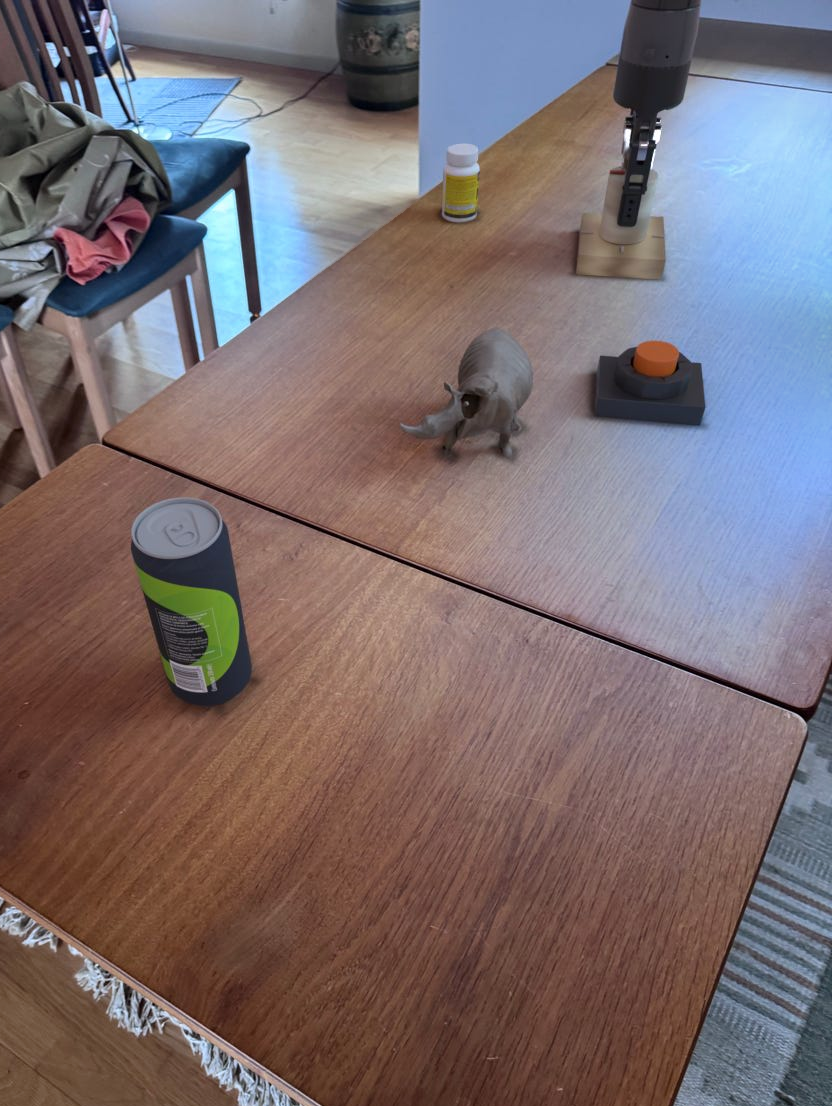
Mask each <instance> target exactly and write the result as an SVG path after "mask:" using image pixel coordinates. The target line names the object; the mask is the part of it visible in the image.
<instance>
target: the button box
mask: <svg viewBox="0 0 832 1106" xmlns="http://www.w3.org/2000/svg"><path fill="white" fill-rule="evenodd" d="M636 348H637V346H632V347H628V348H627V349H625V350H624V351H623V352H622V353H621V354H620V355H618V356H614V355H613V356H612V355H599V358H598V363H597V368H596V369H597V370H596V376H595V397H594V417H595V418H604V419H617V420H627V421H628V420H629V421H640V422H651V423H661V424H663V423H664V424H674V425H688V426H697V427H698V426H699V427H700V426H701V425H702V421H703V417H704V415H705V411H706V399H705V397H706V396H705V389H704V388H705V387H704V378H703V365H702V362H695V361H693V362H692V361H691V360H690V359H689V358H688V357H687V356H686V355H684V354H683V353H682V352H680V351H679V357H678V360H677V364H676V368H675V371H674V373H673V374H671V375H668V376H663V377H659V376H648V375H645V374H642V373H640V372H637V371H636V370H635V369H634V367H633V362H634V357H635V352H636Z"/></svg>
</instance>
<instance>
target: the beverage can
mask: <svg viewBox="0 0 832 1106" xmlns="http://www.w3.org/2000/svg"><path fill="white" fill-rule="evenodd" d="M130 536H131V542H130V552H131V554H132V559H133V562H134V566H135V570H136V574H137V577H138V580H139V584H140V587H141V592H142V595H143V598H144V602H145V605H146V608H147V612H148V615H149V619H150V623H151V627H152V630H153V633H154V638H155V641H156V644H157V648H158V650H159V651H158V652H159V654H160V657H161V661H162V664H163V668H164V672H165V676H166V679H167V682H168V686H169V688H170V690H171V691H172V693H173V694H174V696H176V697H177V698H179V699H180V700H181V701H183V702H185V703H188V704H191V705H195V706H200V707H213V706H215V707H216V706H219V705H222V704H225V703H227V702H229V701H231V700H232V699H234V698H235V697H236V696H238V695H239V694H240V693H241V692H243V690H245V688H246V687H247V685H248V684H249V682H250V680H251V677H252V672H253V665H252V659H251V653H250V649H249V643H248V637H247V630H246V627H245V626H246V624H245V618H244V613H243V609H242V602H241V596H240V591H239V590H240V589H239V586H238V578H237V574H236V567H235V563H234V562H235V561H234V557H233V549H232V546H231V545H232V544H231V538H230V533H229V529H228V526H227V524H226V522H225V521H224V520H223V518H222V515H221V513H220V511H219V510H218V509H217V507H215V506H214V505H213V504H211V503H210V502H208V501H206V500H203V499H200V498H196V497H188V496H186V497H185V496H184V497H183V496H180V497H172V498H171V497H170V498H167V499H163V500H160V501H158V502H155V503H153V504H151V505H149V506H148V507H146V508H145V509H143V510H142V511H141V512H140V513H139V514H138V515H137V516H136V517H135V519H134V520H133V523H132V525H131V529H130Z"/></svg>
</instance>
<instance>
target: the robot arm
mask: <svg viewBox="0 0 832 1106" xmlns="http://www.w3.org/2000/svg"><path fill="white" fill-rule="evenodd" d="M701 6H702V0H630V3H629V8H628V11H627V14H626V18H625V22H624V26H623V31H622V38H621V44H620V49H619V55H618V56H619V57H618V63H617V69H616V74H615V82H614V88H613V94H612V98H613V101H614V103H616V104H617V105H618V106H619V107H622V108H623V109H626V110H628V109H629V110H630V113H629V115H625V116H624V122H623V130H622V133H623V135H622V143H621V151H620V152H621V155H622V157H621V164H620V166H621V169H622V170H623V171H624V180H623V185H621V190H622V196H621V202H620V207H619V213H618V218H617V224H618V226H622V227H634V226H635V225H636V223H637V218H638V213H639V208H640V203H641V198H642V195H645V192H646V191H647V182H648V178H649V173H650V170H651V169H654V163H655V158H656V151H657V146H658V145H657V144H658V143H659V142H660V139H661V134H662V129H663V126H662V116H658V115H659V113H661V112H663V111H670V110H673V109H675V108H678V107H679V106H680V105H681V104H682V102H683V101H684V99H685V94H686V88H687V83H688V79H689V75H690V70H691V65H692V62H693V61H692V60H693V56H694V52H695V51H694V50H695V46H696V41H697V37H698V33H699V24H700V13H701ZM631 175H642V178H641V182H629V181H630V176H631Z"/></svg>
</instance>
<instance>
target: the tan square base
mask: <svg viewBox="0 0 832 1106" xmlns="http://www.w3.org/2000/svg"><path fill="white" fill-rule="evenodd" d="M601 219H602V213H595V212H582V213H581V220H580V227H579V235H578V245H577V246H578V247H577V257H576V268H575V275H579V276H580V275H582V276H583V275H584V276H585V275H586V276H596V277H597V276H598V277H611V278H612V277H614V278H629V279H630V278H631V279H645V280H662V279H663V275H664V270H665V265H666V260H667V258H666V257H667V255H666V238H665V236H666V235H665V234H666V233H665V221H664V219H665V218H664V216H655V215H650V220H649V225H648V230H647V235H646V238H645V239H644V240H643V241H641V242H639V243H636V244H629V245H622V244H615V243H611V242H608V241H606V240H604V239H602V238H601V237H600V235H599V231H600V225H601Z"/></svg>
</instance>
